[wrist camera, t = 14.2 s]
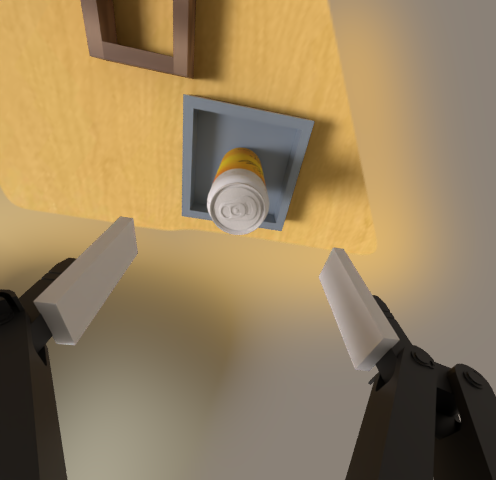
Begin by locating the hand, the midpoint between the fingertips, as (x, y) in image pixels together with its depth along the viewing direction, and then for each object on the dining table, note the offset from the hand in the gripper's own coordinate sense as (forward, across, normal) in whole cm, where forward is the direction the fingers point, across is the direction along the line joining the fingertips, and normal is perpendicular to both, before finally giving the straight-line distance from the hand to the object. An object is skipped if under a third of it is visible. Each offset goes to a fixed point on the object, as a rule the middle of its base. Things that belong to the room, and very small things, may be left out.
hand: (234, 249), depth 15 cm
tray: (+23, 0, -1) cm, 23 cm away
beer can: (+22, 0, -1) cm, 22 cm away
